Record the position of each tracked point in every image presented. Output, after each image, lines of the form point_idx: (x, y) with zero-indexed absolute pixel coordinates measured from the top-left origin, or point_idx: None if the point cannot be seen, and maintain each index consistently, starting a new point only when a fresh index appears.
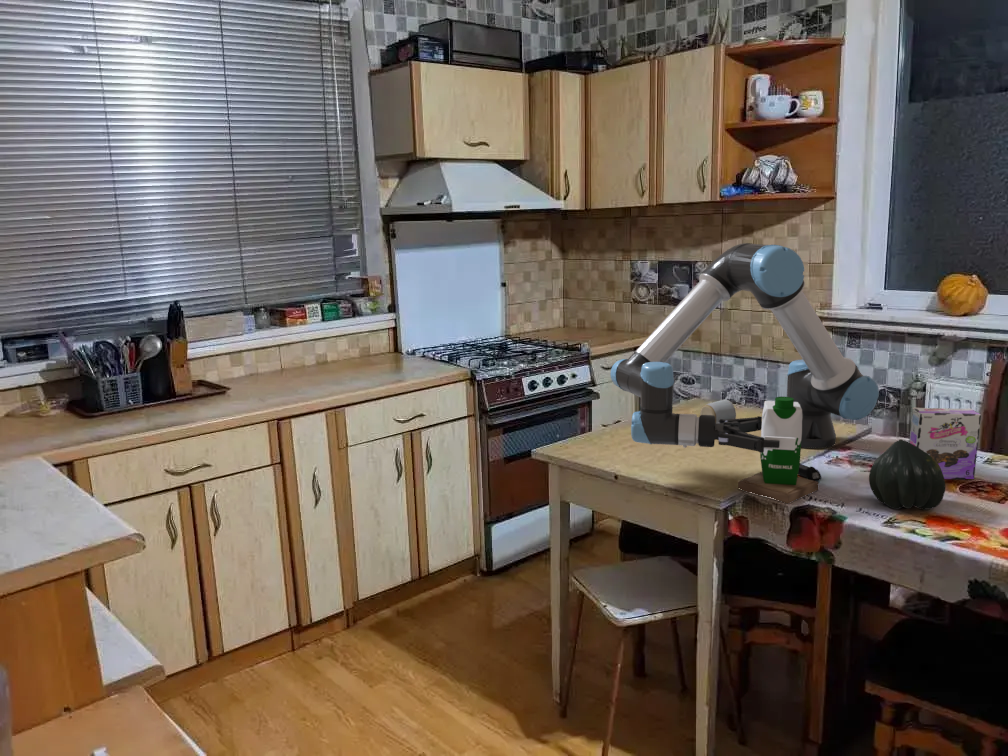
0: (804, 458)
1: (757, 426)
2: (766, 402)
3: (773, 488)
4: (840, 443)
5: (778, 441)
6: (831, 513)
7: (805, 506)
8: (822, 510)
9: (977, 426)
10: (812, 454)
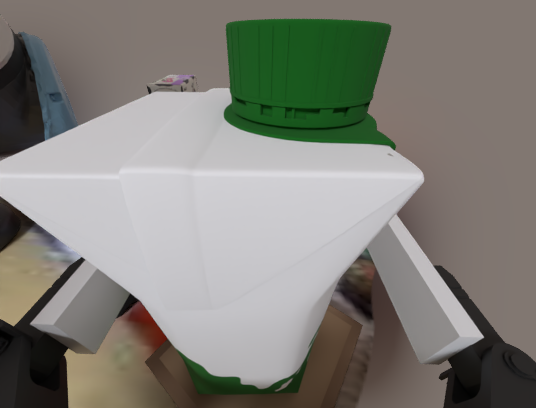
0: (53, 266)
1: (36, 377)
2: (74, 166)
3: (334, 363)
4: (12, 208)
5: (443, 269)
6: (364, 259)
7: (351, 297)
8: (357, 271)
9: (197, 90)
10: (38, 250)
